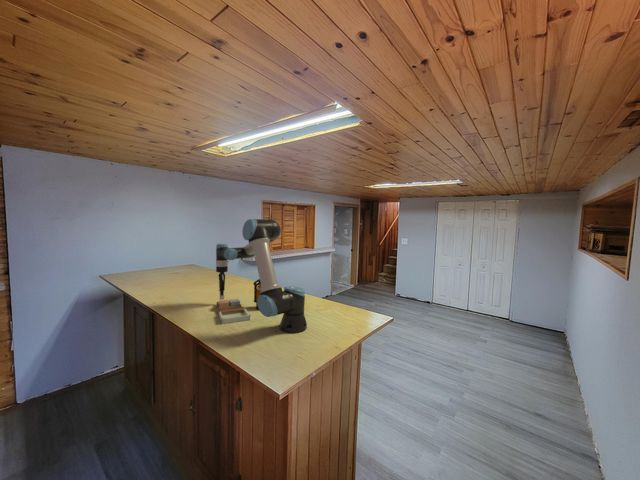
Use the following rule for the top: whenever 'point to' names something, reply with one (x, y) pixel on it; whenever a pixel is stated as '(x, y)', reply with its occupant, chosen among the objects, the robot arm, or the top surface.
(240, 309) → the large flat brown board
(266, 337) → the top surface
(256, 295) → the canister
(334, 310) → the top surface
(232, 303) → the tile
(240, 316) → the tray
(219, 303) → the tile
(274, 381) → the top surface
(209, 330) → the top surface
